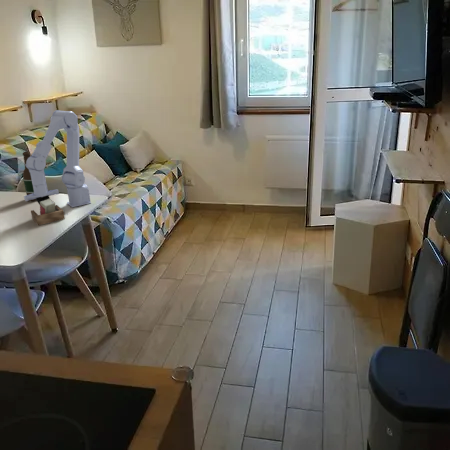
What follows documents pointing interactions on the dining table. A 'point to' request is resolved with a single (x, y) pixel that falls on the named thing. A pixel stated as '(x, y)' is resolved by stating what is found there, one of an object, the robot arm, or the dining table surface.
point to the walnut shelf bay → (48, 216)
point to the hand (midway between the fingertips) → (45, 212)
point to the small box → (47, 206)
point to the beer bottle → (27, 177)
